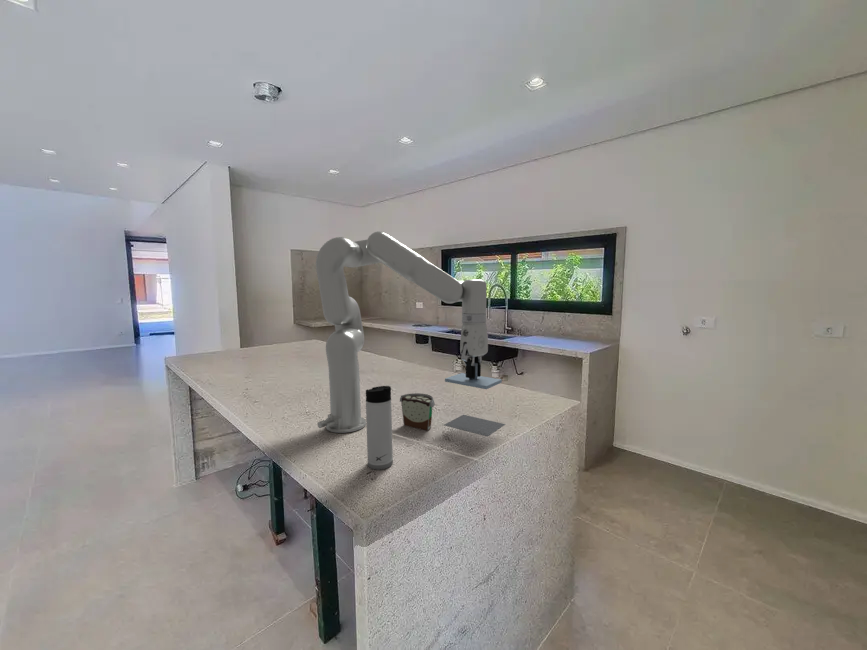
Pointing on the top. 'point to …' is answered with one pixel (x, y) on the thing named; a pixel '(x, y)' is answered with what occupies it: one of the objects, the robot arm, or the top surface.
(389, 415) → the travel mug
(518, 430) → the top surface
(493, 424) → the mat
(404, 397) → the food container
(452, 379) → the lid
